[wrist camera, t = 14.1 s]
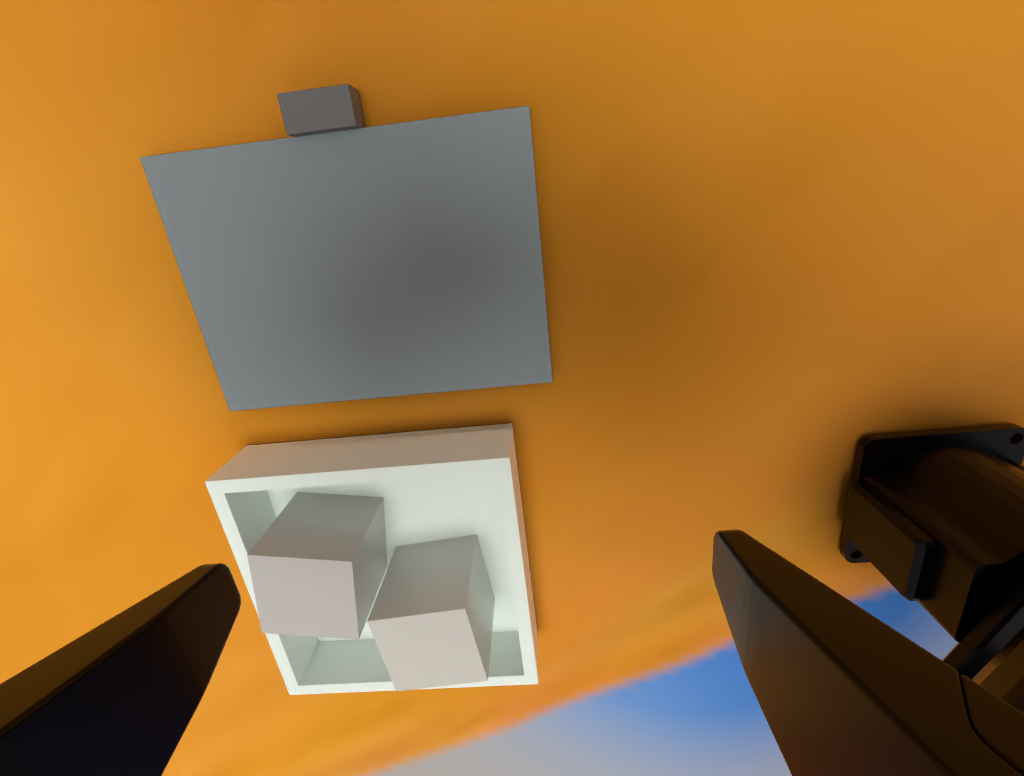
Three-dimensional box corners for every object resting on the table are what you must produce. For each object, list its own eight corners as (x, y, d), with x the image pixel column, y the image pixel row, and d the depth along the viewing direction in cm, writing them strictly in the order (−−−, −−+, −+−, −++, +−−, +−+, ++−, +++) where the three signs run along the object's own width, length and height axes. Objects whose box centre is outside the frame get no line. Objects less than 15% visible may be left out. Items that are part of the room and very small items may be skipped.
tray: (512, 423, 21) (509, 457, 18) (537, 630, 25) (538, 683, 23) (246, 445, 22) (204, 481, 19) (315, 642, 26) (289, 694, 23)
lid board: (525, 67, 16) (525, 58, 15) (552, 378, 20) (553, 387, 19) (135, 121, 17) (112, 116, 16) (235, 407, 21) (221, 417, 20)
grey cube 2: (383, 497, 22) (351, 561, 18) (387, 566, 23) (359, 639, 20) (297, 491, 22) (247, 555, 18) (306, 561, 24) (262, 632, 20)
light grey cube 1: (476, 534, 23) (465, 608, 18) (495, 598, 24) (487, 680, 20) (396, 546, 23) (366, 621, 19) (418, 608, 24) (396, 691, 20)
